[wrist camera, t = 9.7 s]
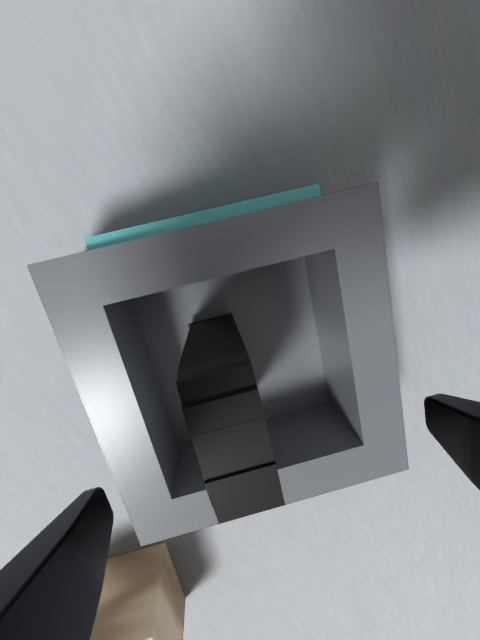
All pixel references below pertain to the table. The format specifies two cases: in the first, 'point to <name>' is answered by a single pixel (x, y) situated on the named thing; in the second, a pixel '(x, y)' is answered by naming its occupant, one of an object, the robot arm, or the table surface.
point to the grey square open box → (257, 334)
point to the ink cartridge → (227, 420)
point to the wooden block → (140, 598)
